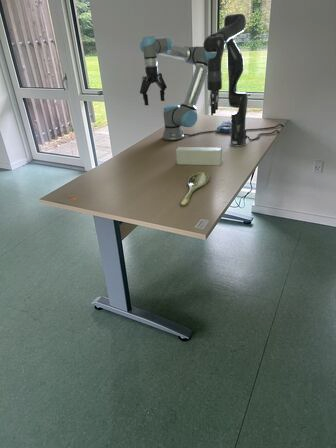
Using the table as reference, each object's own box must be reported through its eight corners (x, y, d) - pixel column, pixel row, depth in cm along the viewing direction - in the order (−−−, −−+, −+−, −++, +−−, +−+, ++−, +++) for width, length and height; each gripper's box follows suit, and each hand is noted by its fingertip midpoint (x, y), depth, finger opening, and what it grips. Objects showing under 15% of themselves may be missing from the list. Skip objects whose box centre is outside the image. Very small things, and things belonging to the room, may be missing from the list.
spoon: (193, 209, 156) (193, 205, 155) (172, 207, 159) (171, 203, 158) (212, 175, 182) (212, 172, 181) (193, 174, 186) (193, 170, 184)
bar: (177, 164, 203) (176, 150, 198) (179, 161, 207) (178, 147, 203) (220, 165, 196) (220, 150, 191) (221, 161, 200) (221, 147, 196)
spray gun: (242, 125, 260) (223, 125, 266) (242, 120, 258) (223, 120, 264) (234, 134, 245) (215, 133, 251) (234, 128, 242) (214, 128, 249)
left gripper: (139, 69, 190) (143, 107, 201) (170, 63, 204) (173, 99, 215) (131, 68, 195) (135, 106, 206) (162, 63, 209) (165, 98, 220)
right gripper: (219, 81, 168) (219, 114, 177) (223, 77, 180) (223, 108, 188) (205, 82, 170) (205, 115, 179) (209, 77, 182) (210, 108, 190)
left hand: (154, 103), depth 210 cm, fingers open, 13 cm apart
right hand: (214, 111), depth 183 cm, fingers open, 8 cm apart
